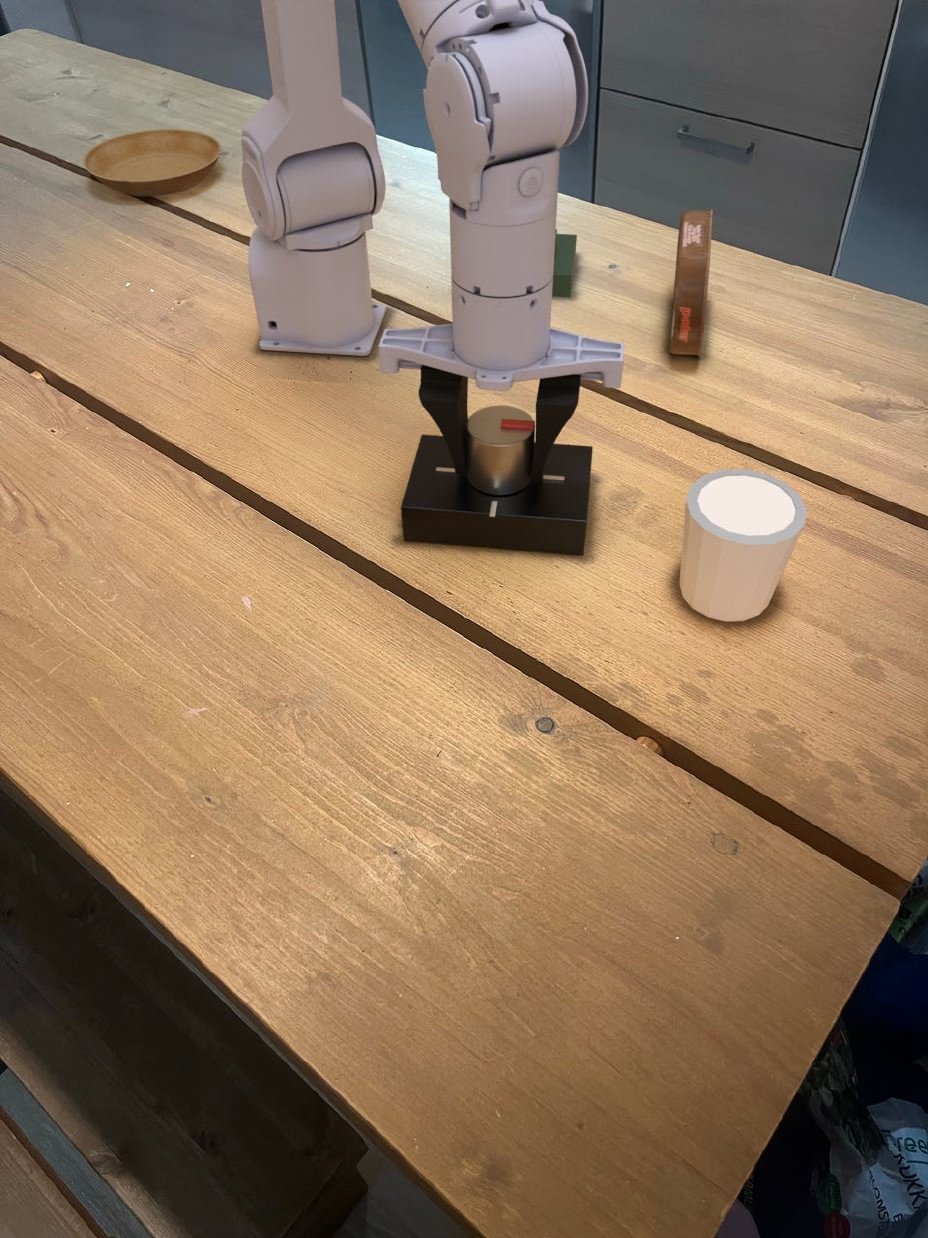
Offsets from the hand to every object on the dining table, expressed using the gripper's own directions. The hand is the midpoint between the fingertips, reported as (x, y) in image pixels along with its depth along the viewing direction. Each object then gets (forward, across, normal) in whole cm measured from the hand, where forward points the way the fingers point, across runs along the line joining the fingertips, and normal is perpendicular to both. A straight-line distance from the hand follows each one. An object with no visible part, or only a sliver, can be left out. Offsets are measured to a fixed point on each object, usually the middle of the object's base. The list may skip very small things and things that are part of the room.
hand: (499, 468), depth 63 cm
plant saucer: (+4, -44, +52) cm, 68 cm away
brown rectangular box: (+4, +13, +26) cm, 29 cm away
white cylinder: (+4, +15, -6) cm, 17 cm away
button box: (+4, -2, +34) cm, 34 cm away
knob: (+1, 0, 0) cm, 1 cm away
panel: (+4, 0, 0) cm, 4 cm away
